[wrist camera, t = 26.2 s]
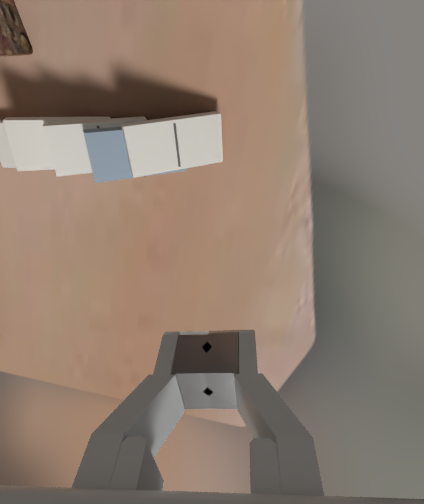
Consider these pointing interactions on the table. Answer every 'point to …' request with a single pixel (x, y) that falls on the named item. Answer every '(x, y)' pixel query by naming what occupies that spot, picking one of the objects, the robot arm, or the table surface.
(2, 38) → the book
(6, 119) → the domino
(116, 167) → the domino
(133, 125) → the domino
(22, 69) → the table surface
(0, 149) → the domino
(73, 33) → the table surface
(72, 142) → the domino
